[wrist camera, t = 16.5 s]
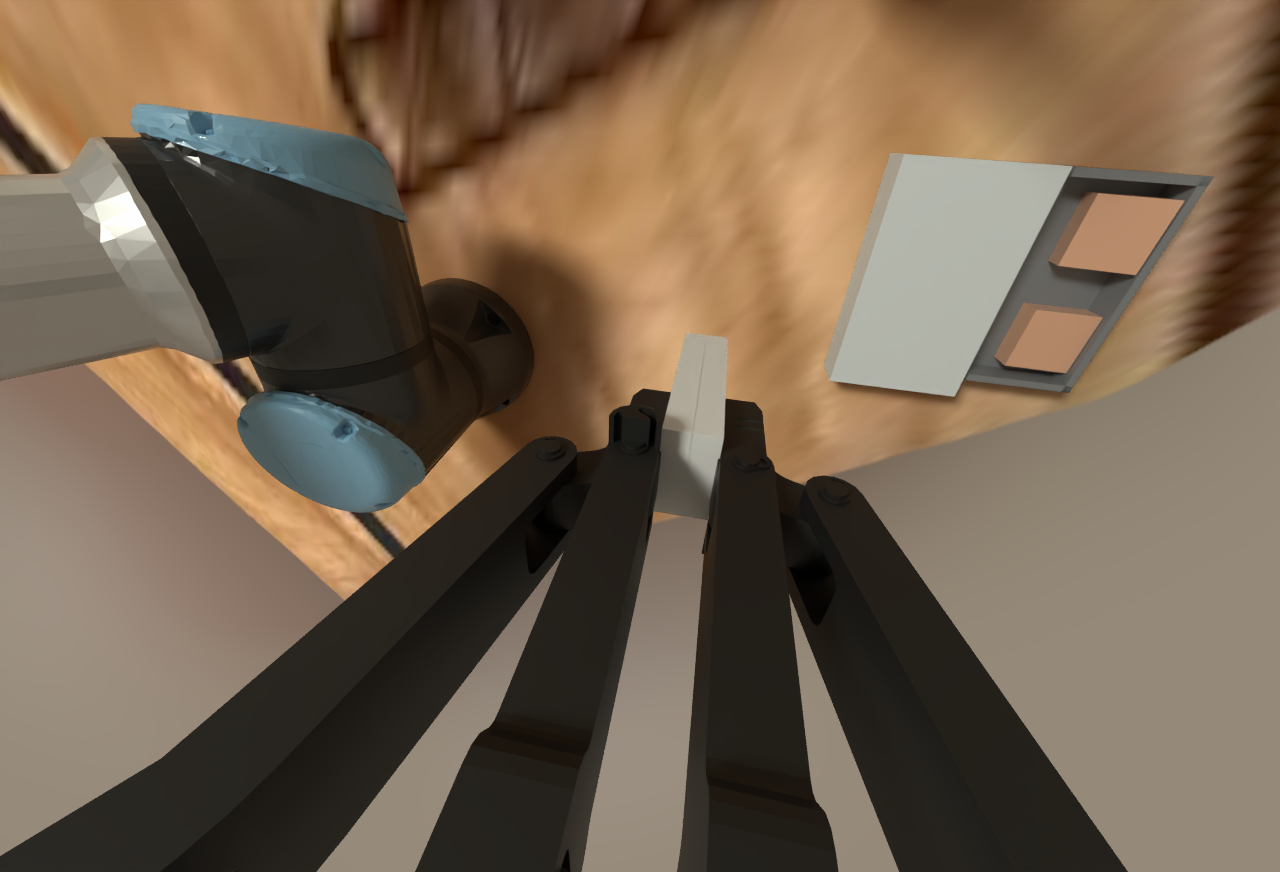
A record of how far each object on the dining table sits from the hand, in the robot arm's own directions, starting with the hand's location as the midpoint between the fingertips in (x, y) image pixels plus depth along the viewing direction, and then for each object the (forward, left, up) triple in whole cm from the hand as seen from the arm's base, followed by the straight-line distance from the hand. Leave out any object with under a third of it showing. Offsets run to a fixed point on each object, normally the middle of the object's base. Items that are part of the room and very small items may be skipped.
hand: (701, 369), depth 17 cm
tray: (+28, -1, -28) cm, 40 cm away
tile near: (+29, +3, -26) cm, 39 cm away
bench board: (+18, -2, -28) cm, 33 cm away
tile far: (+29, -6, -26) cm, 39 cm away
